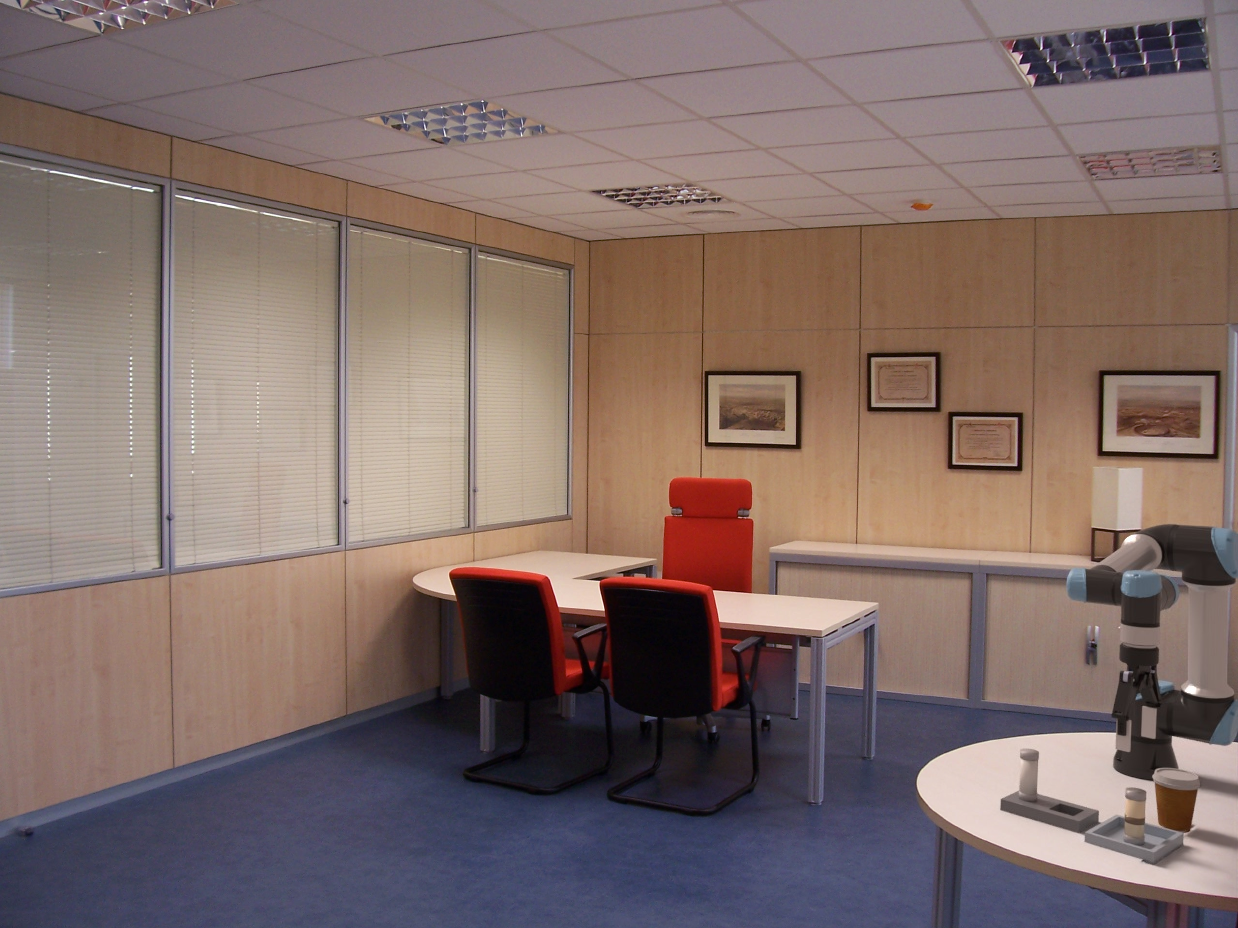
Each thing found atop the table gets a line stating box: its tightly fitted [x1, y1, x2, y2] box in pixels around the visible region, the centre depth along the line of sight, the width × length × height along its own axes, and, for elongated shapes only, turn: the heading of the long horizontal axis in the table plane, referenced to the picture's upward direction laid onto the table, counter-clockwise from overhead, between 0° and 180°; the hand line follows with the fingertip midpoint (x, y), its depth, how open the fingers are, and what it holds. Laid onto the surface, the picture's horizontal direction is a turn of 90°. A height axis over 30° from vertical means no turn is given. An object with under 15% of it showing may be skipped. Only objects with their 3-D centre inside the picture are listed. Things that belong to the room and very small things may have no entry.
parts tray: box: [1084, 814, 1184, 866], centre depth 228 cm, size 16×14×2 cm
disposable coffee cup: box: [1152, 768, 1201, 833], centre depth 238 cm, size 10×10×12 cm
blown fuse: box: [1124, 787, 1147, 846], centre depth 228 cm, size 4×4×11 cm
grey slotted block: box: [999, 748, 1100, 834], centre depth 243 cm, size 10×18×14 cm, turn 43°
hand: (1135, 743), depth 229 cm, fingers open, 13 cm apart
